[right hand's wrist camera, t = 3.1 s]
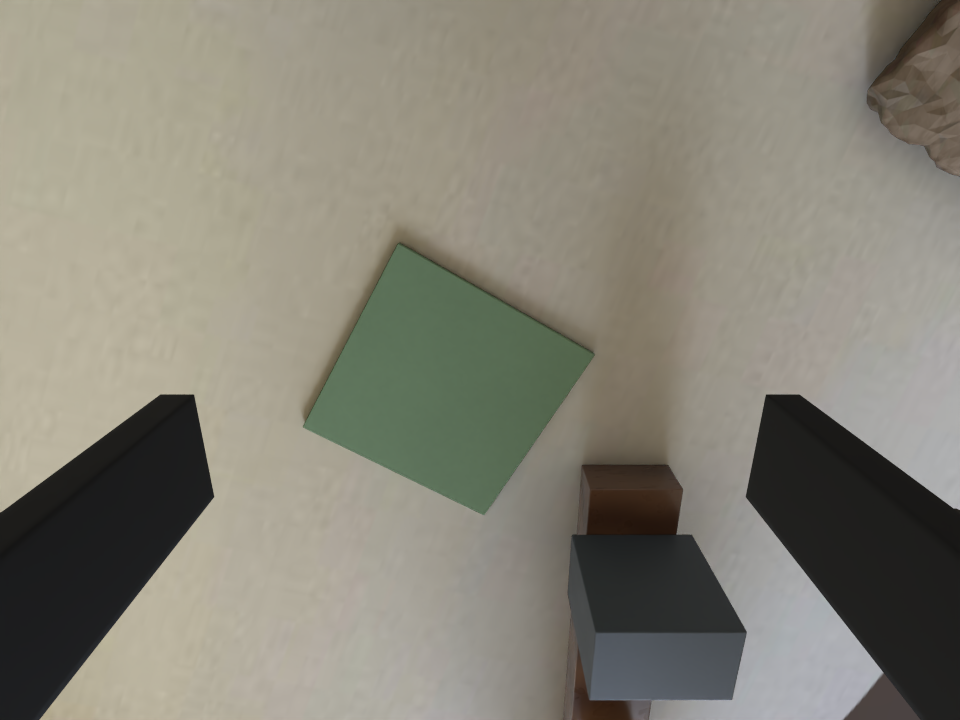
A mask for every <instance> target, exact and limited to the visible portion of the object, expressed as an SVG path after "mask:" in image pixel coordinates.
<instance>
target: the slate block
mask: <svg viewBox="0 0 960 720" xmlns="http://www.w3.org/2000/svg"><path fill="white" fill-rule="evenodd" d="M568 598H569V603H570V608H571V613H572V618H573V623H574V627H575V632H576V637H577V642H578V647H579V652H580V657H581V662H582V667H583V672H584V677H585V682H586V687H587V692H588V697H589V700H732V697H733V693H734V688H735V684H736V679H737V674H738V670H739V665H740V661H741V656H742V652H743V647H744V643H745V638H746V633H747V632H746V630H745V628H744V626H743V624H742V623H741V621H740V619H739V617H738V616H737V614H736V612H735V610H734V608H733V607H732V605H731V603H730V601H729V600H728V598H727V596H726V594H725V593H724V591H723V589H722V587H721V585H720V584H719V582H718V580H717V578H716V577H715V575H714V573H713V571H712V570H711V568H710V566H709V564H708V562H707V561H706V559H705V557H704V555H703V554H702V552H701V550H700V548H699V546H698V545H697V543H696V541H695V539H694V538H693V536H692V535H572V539H571V553H570V568H569V582H568Z"/></svg>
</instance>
